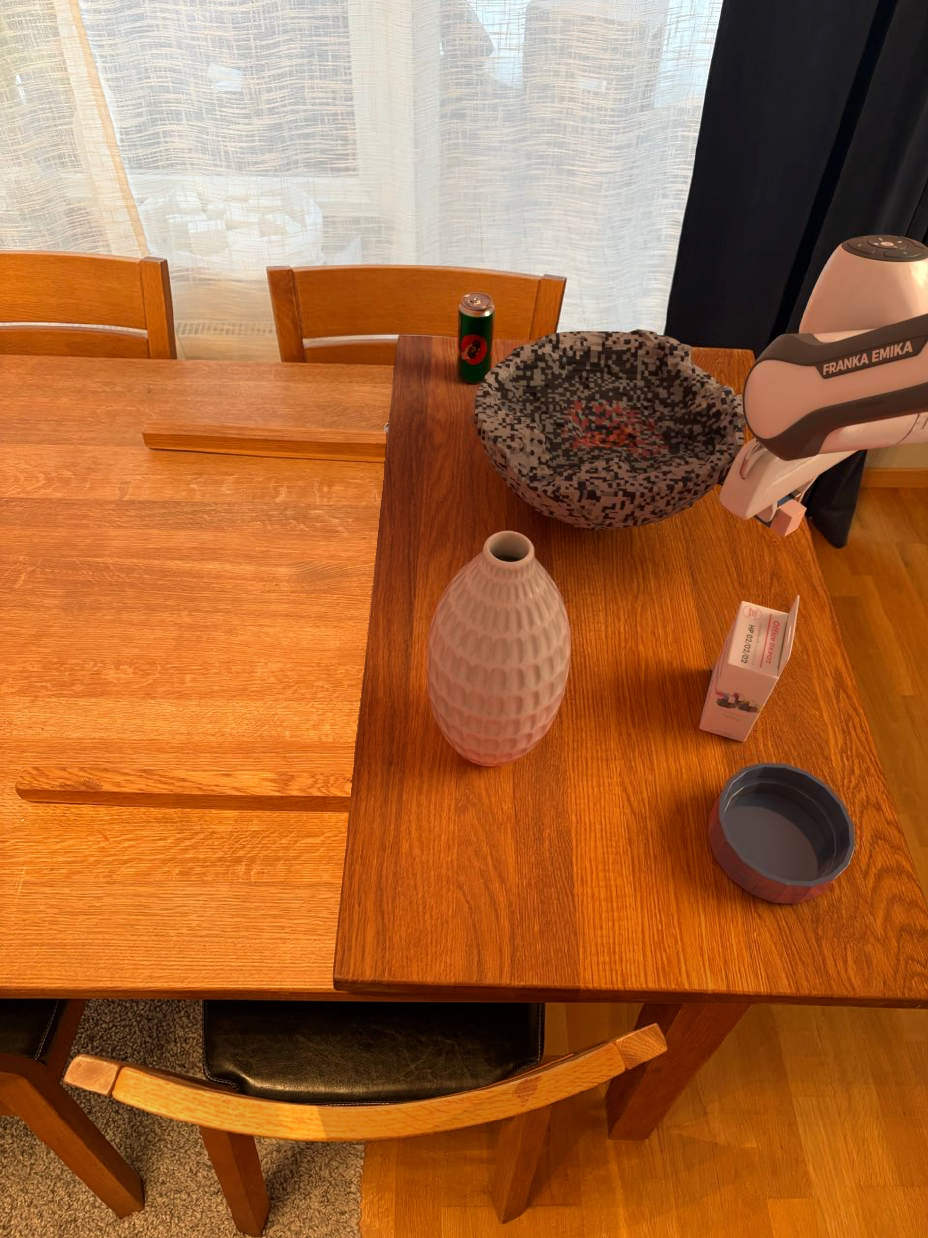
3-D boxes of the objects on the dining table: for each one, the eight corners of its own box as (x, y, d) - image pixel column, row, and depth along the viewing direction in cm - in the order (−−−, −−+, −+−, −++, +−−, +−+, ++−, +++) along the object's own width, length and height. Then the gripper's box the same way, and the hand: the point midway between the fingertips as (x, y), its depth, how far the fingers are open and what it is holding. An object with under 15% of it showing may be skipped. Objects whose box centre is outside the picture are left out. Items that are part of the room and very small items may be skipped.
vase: (536, 812, 82) (575, 629, 60) (409, 777, 84) (402, 587, 62) (563, 705, 90) (606, 509, 68) (447, 676, 91) (452, 476, 70)
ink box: (710, 667, 93) (749, 577, 82) (756, 681, 92) (802, 591, 81) (696, 729, 88) (736, 642, 77) (745, 745, 87) (792, 659, 76)
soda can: (497, 379, 125) (502, 304, 116) (467, 389, 124) (470, 314, 114) (479, 361, 128) (483, 287, 119) (450, 371, 126) (451, 295, 117)
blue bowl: (852, 824, 82) (871, 803, 78) (813, 932, 75) (831, 913, 72) (733, 764, 86) (746, 741, 82) (686, 861, 79) (698, 840, 76)
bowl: (695, 421, 120) (724, 326, 109) (733, 588, 101) (772, 493, 89) (473, 412, 120) (478, 315, 109) (467, 577, 101) (471, 481, 89)
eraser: (798, 528, 94) (807, 507, 91) (783, 538, 93) (792, 517, 90) (762, 503, 96) (770, 482, 94) (747, 512, 95) (755, 491, 93)
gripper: (777, 462, 77) (736, 567, 87) (910, 382, 85) (858, 487, 96) (724, 426, 80) (691, 532, 91) (857, 353, 88) (812, 458, 99)
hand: (777, 509), depth 93 cm, fingers closed on eraser, 2 cm apart
